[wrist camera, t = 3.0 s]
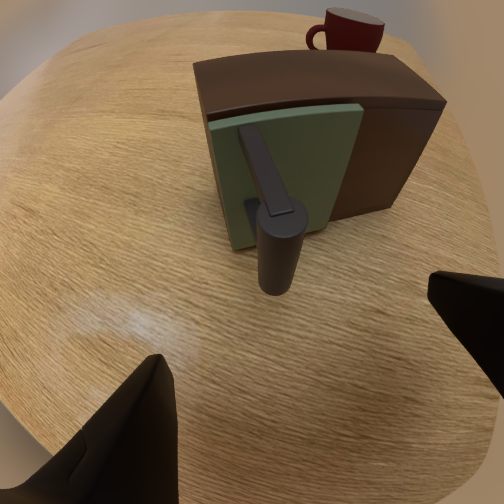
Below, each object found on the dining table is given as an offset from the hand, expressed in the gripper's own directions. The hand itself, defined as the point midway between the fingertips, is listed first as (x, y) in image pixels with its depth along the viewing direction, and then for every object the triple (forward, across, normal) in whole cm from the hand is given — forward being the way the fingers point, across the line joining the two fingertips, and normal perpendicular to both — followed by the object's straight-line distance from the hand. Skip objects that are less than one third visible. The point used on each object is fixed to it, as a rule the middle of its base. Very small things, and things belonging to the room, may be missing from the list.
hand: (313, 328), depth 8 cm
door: (+10, -2, +3) cm, 11 cm away
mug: (+31, -20, -16) cm, 40 cm away
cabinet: (+16, -6, -1) cm, 16 cm away
